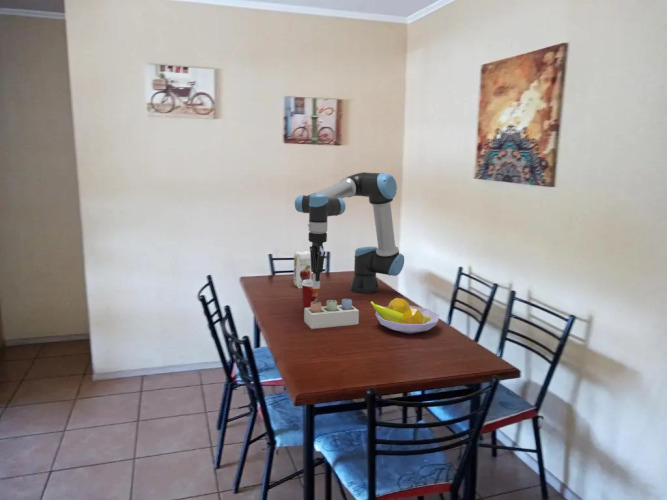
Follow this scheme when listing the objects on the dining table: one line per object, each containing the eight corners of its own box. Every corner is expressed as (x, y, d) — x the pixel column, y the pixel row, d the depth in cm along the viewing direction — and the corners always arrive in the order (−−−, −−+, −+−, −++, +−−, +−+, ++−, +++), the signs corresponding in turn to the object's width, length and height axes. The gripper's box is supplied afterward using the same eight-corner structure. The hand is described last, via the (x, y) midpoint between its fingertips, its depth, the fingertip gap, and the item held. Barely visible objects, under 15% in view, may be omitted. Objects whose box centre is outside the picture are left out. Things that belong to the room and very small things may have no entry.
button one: (349, 311, 223) (349, 297, 222) (353, 314, 219) (353, 300, 218) (339, 312, 222) (340, 298, 220) (343, 315, 218) (344, 301, 216)
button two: (334, 313, 221) (334, 299, 219) (338, 316, 217) (338, 301, 215) (324, 313, 219) (325, 299, 218) (328, 316, 215) (328, 302, 214)
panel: (349, 317, 227) (349, 304, 226) (358, 324, 218) (358, 310, 217) (304, 321, 219) (304, 307, 218) (311, 328, 210) (311, 314, 209)
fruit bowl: (440, 321, 225) (441, 296, 223) (435, 342, 199) (436, 314, 197) (377, 314, 232) (378, 290, 230) (364, 334, 206) (365, 306, 204)
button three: (319, 314, 218) (319, 300, 217) (322, 317, 214) (322, 303, 213) (309, 315, 217) (309, 301, 215) (312, 318, 212) (312, 304, 211)
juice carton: (292, 285, 278) (293, 251, 275) (307, 284, 282) (307, 250, 278) (297, 289, 271) (298, 253, 268) (312, 287, 275) (313, 253, 272)
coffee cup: (316, 317, 226) (317, 284, 223) (298, 315, 227) (299, 282, 225) (321, 311, 234) (321, 279, 231) (303, 309, 235) (304, 278, 233)
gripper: (304, 230, 213) (302, 284, 218) (314, 234, 201) (312, 292, 206) (321, 229, 216) (319, 283, 220) (332, 234, 204) (330, 291, 208)
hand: (316, 288), depth 213 cm, fingers closed
